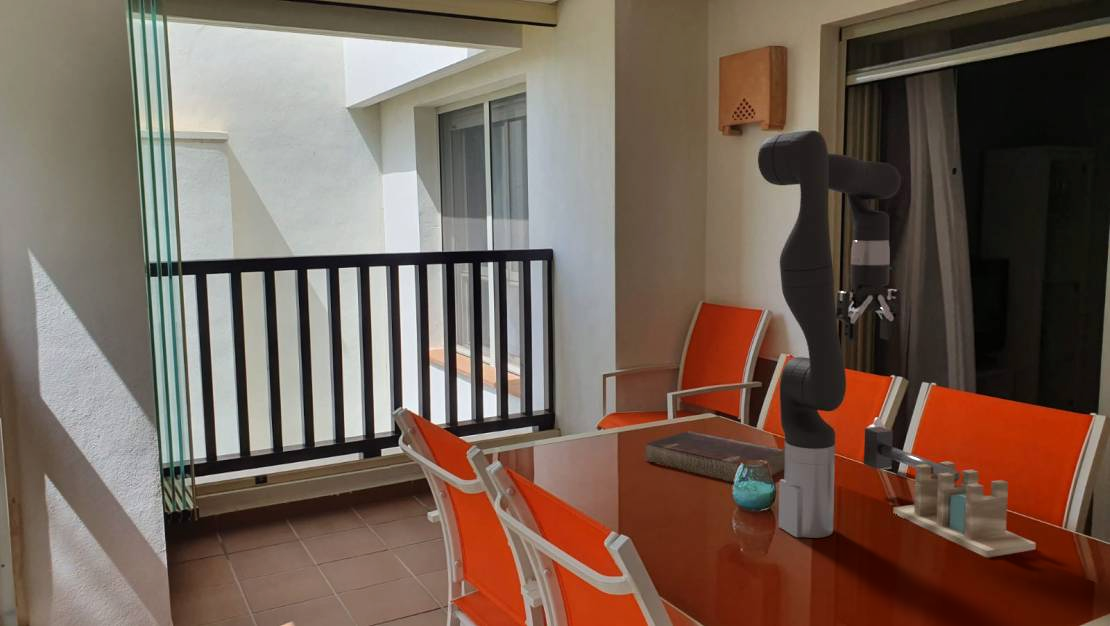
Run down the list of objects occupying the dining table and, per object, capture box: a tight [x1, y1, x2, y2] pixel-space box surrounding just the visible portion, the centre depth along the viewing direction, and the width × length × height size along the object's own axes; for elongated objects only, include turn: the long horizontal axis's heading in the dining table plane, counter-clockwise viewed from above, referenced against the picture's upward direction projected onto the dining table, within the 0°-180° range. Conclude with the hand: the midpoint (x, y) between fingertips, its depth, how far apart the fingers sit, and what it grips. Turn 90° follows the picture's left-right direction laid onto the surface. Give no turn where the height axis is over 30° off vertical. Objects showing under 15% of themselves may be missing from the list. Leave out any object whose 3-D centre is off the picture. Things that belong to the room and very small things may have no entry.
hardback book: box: [645, 430, 785, 483], centre depth 208 cm, size 29×19×5 cm, turn 46°
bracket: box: [892, 460, 1036, 558], centre depth 162 cm, size 24×11×11 cm, turn 18°
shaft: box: [863, 427, 961, 484], centre depth 175 cm, size 24×4×8 cm, turn 18°
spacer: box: [949, 493, 986, 533], centre depth 160 cm, size 4×6×6 cm, turn 108°
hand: (867, 339), depth 178 cm, fingers open, 8 cm apart
